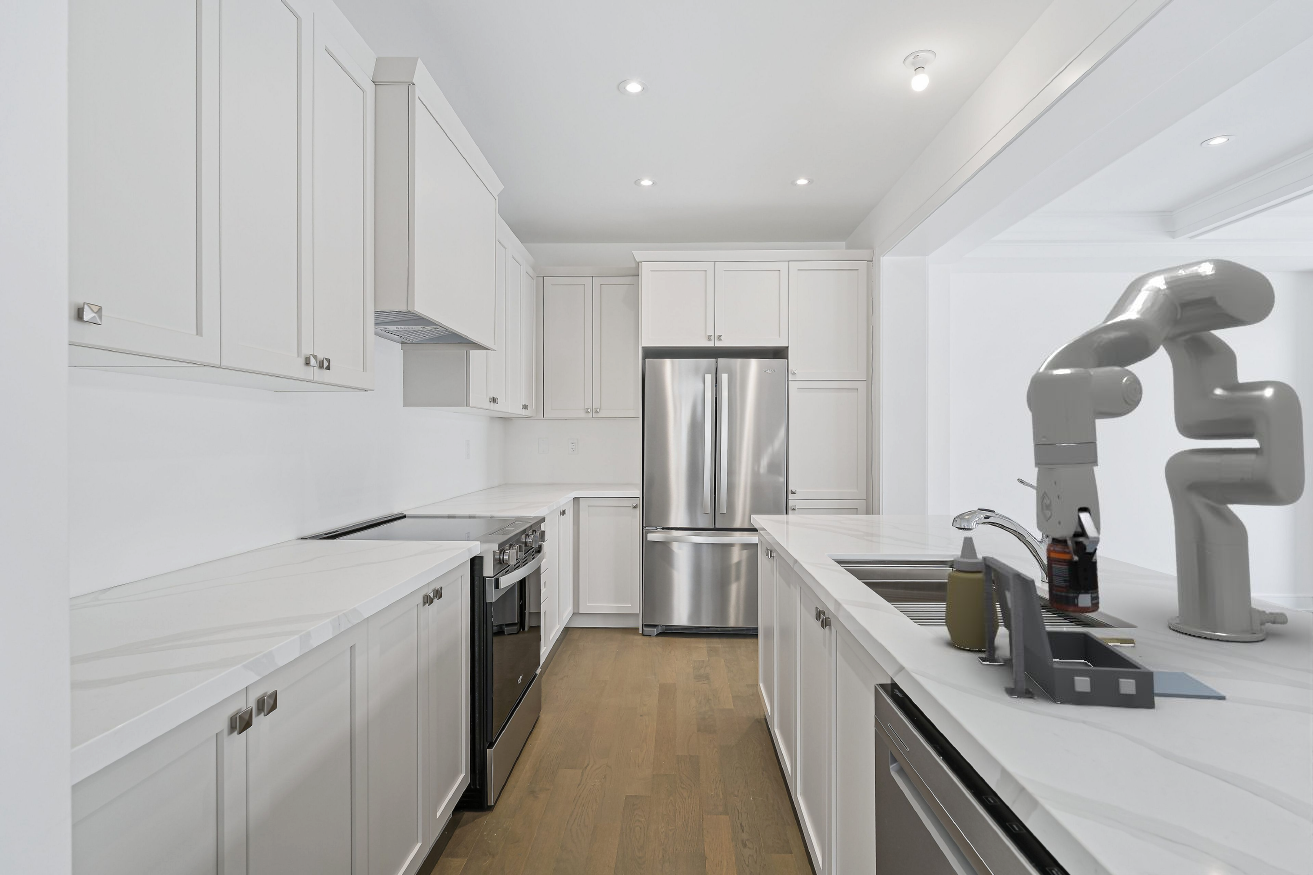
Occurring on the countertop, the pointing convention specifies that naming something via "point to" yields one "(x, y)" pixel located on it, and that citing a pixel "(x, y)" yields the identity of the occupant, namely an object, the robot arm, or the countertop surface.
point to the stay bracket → (1016, 624)
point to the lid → (1024, 613)
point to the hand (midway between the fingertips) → (1072, 583)
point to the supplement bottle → (1067, 582)
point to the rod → (1118, 640)
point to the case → (1090, 672)
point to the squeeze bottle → (967, 600)
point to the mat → (1182, 686)
